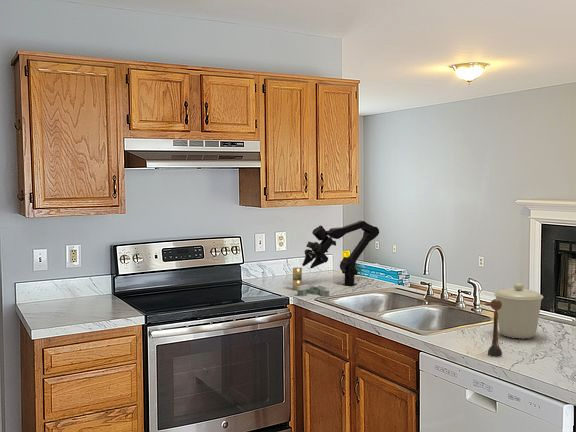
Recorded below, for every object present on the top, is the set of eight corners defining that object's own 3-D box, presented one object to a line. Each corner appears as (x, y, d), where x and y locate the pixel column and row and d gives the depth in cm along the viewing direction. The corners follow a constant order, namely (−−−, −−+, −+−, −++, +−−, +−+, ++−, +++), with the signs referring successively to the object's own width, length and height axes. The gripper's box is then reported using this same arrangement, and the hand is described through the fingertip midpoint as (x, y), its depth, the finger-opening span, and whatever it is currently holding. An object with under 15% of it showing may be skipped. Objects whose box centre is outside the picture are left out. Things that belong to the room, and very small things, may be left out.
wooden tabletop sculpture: (483, 355, 214) (484, 299, 213) (486, 351, 218) (487, 296, 217) (500, 357, 211) (502, 300, 210) (503, 354, 215) (504, 298, 214)
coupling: (295, 288, 339) (295, 267, 339) (303, 289, 337) (303, 267, 336) (291, 290, 335) (291, 268, 334) (299, 290, 333) (299, 269, 332)
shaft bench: (313, 290, 335) (313, 281, 334) (338, 294, 323) (338, 285, 323) (292, 294, 322) (292, 285, 321) (317, 299, 310) (317, 289, 310)
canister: (532, 344, 227) (534, 289, 226) (485, 336, 239) (487, 283, 238) (548, 335, 241) (550, 282, 240) (503, 327, 253) (504, 277, 251)
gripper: (307, 234, 347) (290, 255, 343) (323, 238, 331) (305, 259, 327) (319, 248, 351) (302, 268, 347) (335, 251, 335) (318, 272, 331)
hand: (306, 266), depth 338 cm, fingers open, 9 cm apart
